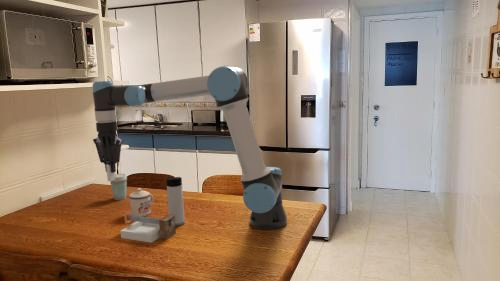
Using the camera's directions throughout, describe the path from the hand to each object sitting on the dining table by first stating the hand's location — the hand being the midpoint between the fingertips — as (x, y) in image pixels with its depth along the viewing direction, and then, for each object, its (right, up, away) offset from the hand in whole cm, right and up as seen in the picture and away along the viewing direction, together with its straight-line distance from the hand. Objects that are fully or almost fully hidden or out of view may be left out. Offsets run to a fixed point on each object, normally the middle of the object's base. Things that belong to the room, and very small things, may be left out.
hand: (111, 180), depth 154 cm
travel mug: (+25, -19, +7) cm, 32 cm away
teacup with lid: (+7, -17, +21) cm, 28 cm away
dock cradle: (+15, -21, -2) cm, 25 cm away
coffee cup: (-11, -14, +43) cm, 47 cm away
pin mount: (+24, -21, -6) cm, 32 cm away
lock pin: (+16, -17, -3) cm, 24 cm away
